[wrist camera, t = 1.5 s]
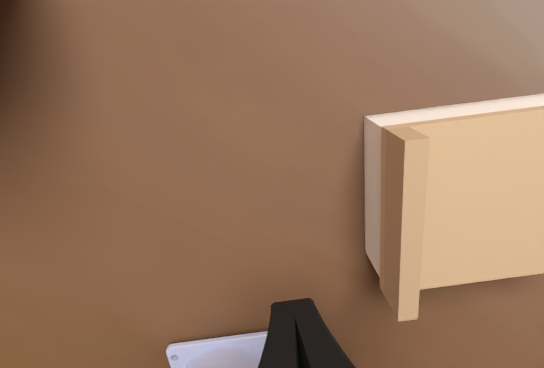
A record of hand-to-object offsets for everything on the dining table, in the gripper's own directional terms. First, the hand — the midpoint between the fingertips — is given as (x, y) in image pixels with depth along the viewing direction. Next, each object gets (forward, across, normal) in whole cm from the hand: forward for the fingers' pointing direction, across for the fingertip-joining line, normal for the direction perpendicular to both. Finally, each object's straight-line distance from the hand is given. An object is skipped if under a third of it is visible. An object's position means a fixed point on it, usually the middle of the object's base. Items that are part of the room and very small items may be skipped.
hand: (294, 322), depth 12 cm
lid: (+6, -11, 0) cm, 13 cm away
